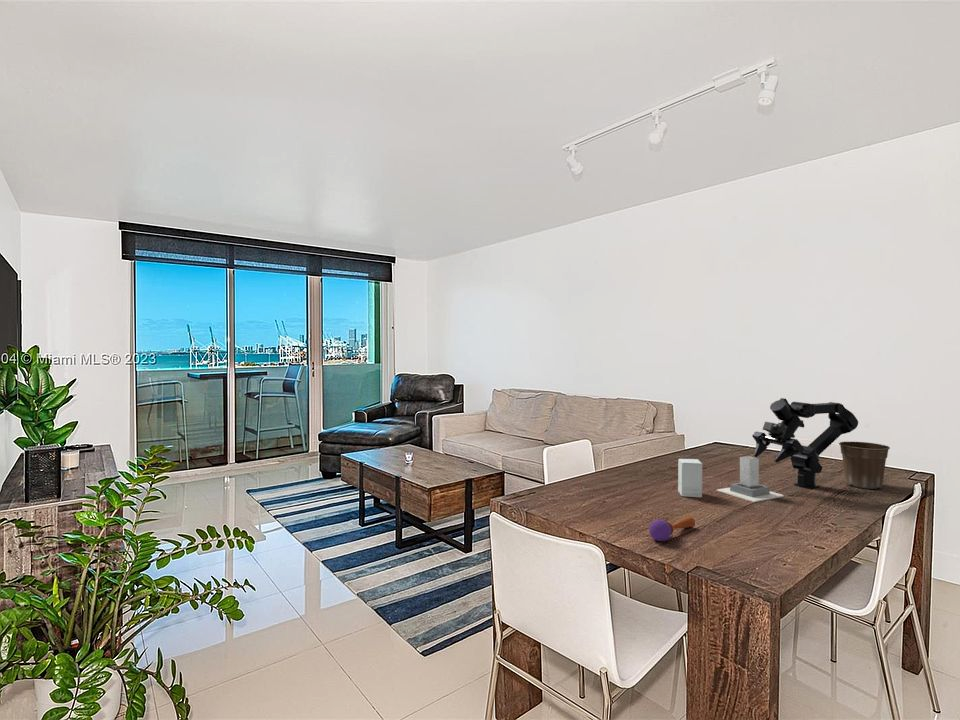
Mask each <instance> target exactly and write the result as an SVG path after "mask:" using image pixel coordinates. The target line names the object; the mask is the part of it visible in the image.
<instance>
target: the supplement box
mask: <svg viewBox="0 0 960 720" xmlns="http://www.w3.org/2000/svg"><path fill="white" fill-rule="evenodd" d="M677 469H678V471H677V473H678V476H677V479H678V481H677V492H678V493H679V494H680V496H681V497H685V498H686V497H688V498H692V497H693V498H702V497H703V463H702V461H700V459H696V458H695V459H694V458H678V465H677Z"/></svg>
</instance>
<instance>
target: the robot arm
mask: <svg viewBox="0 0 960 720" xmlns="http://www.w3.org/2000/svg"><path fill="white" fill-rule="evenodd" d="M769 409H770V411H771V412H772V413H773V414H774V416H775V417H776V418H777V419H778V420H779V421H781V422H778V423H776V422H770V421H764V423H763V426H762V430H763V431H766V432H768V433H767V434H768V435H767V434H766V433H765V432H761V431H754V432H753V434H752V438H753V439H754V441H755V449H754V454H753V457H755V458H758V457H759V456H760V455H761V454H762V453H763V452H764V451H766V450H767V449H768V446H770V445H771V444H775V445H777V446H781V449H780V451H779V452H778V454H777V455H776V456H775V458H774V462H775V463H779V462H781V461H783V460H785V459H788V458H790V461H791V466H792V468H793V469H795V470H797V482H794V483H793V485H794V486H798V487H801V488H802V487H803V488H806V489H815V488H819V487H820V485H819V484H816V480H817V475H816V474H820V473H822V470H823V466H822V465H821V464H820V456H821V454H822V453H823V452H824V451H825V450H826V449H827V448H828V447H830V446H831V445H832V444H833V443H834V442H835V441H836V440H837V439H838V438H839V437H841V435H845V434H848V433H851V432H852V431H854V430H855V429H857V428H858V425H859V421H858V419H857V417H856V416H855V415H854V413H853V412H851V411H850V410H849V409H847V408H846V407H845V406H844V404H842V403H840V402H832V401H830V402H822V403H821V402H820V403H819V402H817V403H810V402H809V403H808V402H801V401H800V402H799V401H792V402H791V403H789V401H788V400H787V399H786V398H784V397H783V398H782V397H781V398H780V399H778V400H775V401H774V402H772V403H771V404H770V406H769ZM821 414H828V419H829V426H828V427H827V428H825V430H824V431H822V433H820V435H818V436H817V437H816V438H815V439H814V440H813V441H812V442H811V443H809V445H807V446H806V445H802V444H801V442H800V441H799V440H798V439H796V438H795V437H796V435H795V432H797V430H798V429H799V428H803V429H804V428H805V423H804V420H803V419H804V418H805V419H810V418H812V417H815V415H821ZM801 418H803V419H801ZM769 436H770V437H769Z"/></svg>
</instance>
